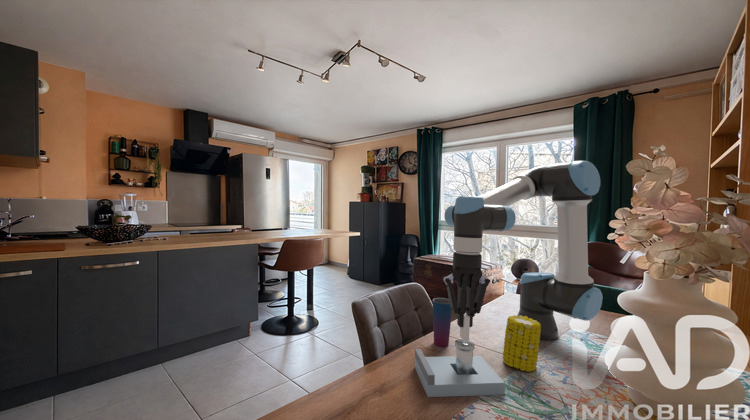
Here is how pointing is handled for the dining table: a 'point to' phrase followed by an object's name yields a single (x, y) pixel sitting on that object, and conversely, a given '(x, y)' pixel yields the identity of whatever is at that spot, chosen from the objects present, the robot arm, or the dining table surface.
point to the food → (521, 343)
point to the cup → (441, 321)
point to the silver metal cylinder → (464, 357)
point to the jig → (456, 377)
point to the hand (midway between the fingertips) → (464, 338)
